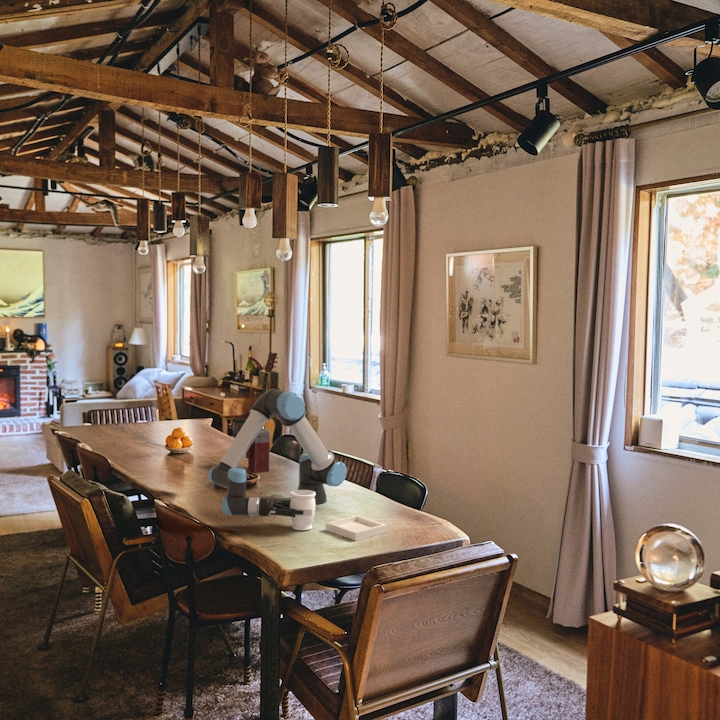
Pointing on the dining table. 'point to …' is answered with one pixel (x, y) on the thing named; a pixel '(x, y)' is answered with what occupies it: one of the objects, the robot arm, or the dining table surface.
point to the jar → (303, 501)
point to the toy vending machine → (259, 452)
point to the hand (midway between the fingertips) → (312, 508)
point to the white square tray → (356, 527)
